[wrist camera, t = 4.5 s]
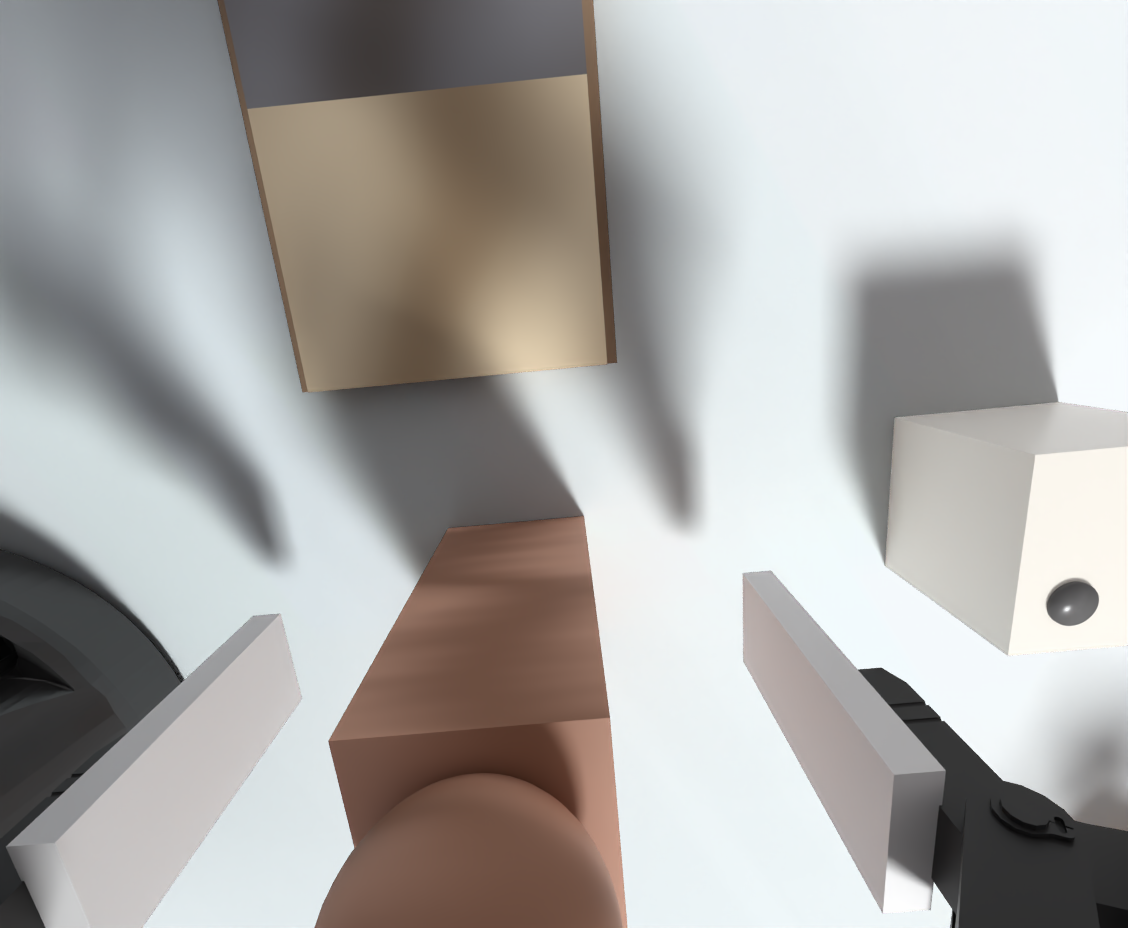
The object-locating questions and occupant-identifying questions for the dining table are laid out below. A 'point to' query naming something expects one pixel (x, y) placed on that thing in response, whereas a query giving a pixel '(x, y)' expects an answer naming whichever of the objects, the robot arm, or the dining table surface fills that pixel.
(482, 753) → the pawn
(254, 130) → the board
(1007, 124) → the dining table surface
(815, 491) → the dining table surface
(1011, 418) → the die
